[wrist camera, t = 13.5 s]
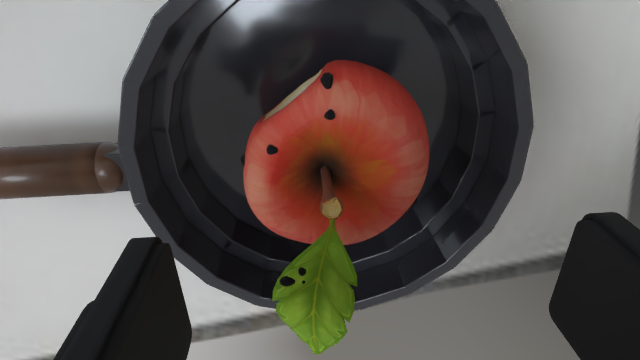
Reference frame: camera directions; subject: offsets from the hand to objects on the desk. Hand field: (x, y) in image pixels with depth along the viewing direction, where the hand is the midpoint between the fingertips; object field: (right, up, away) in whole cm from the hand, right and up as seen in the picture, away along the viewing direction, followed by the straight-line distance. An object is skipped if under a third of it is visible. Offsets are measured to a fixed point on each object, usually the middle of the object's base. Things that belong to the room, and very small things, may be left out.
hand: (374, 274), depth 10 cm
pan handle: (-14, +3, +7) cm, 16 cm away
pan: (-1, +5, +10) cm, 11 cm away
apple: (-1, +5, +10) cm, 11 cm away
